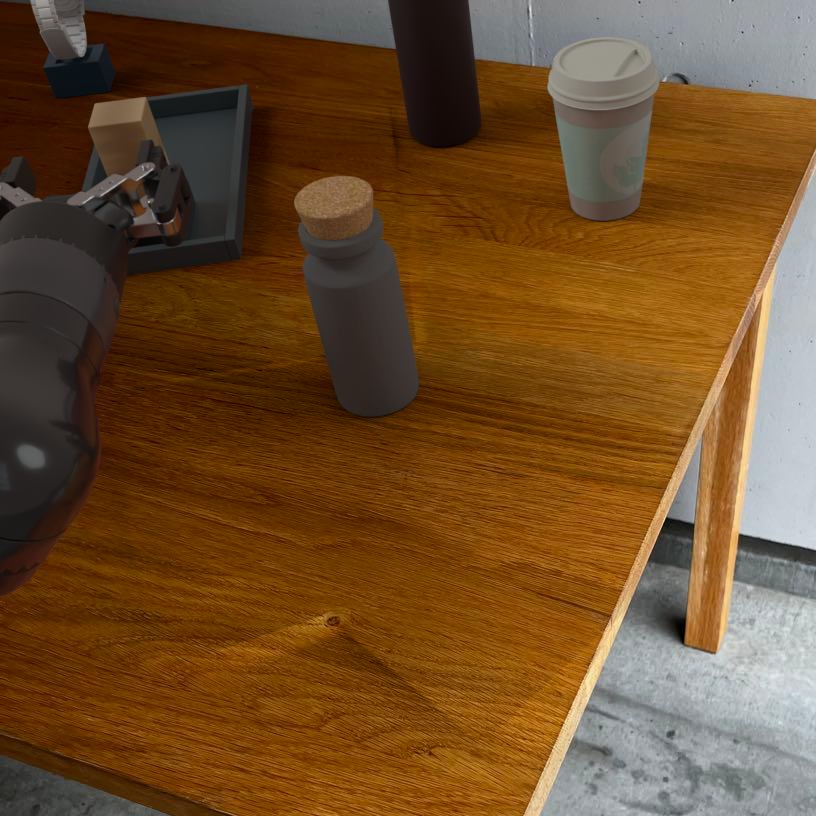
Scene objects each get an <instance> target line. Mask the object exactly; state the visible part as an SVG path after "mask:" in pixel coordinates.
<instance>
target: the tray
mask: <svg viewBox="0 0 816 816" xmlns="http://www.w3.org/2000/svg"><path fill="white" fill-rule="evenodd" d="M146 98H147V101H148V103H149V106H150V109H151V112H152V115H153V118H154V121H155V123H156V126H157V129H158V132H159V135H160V138H161V140H162V143H163V146H164V149H165V152H166V155H167V158H168V160H169V163H170V164H180V165H181V166H182V168H183V171H184V174H185V177H187V179H188V182H189V185H190V188H191V191H192V194H193V197H194V200H195V209H194V217H193V224H192V232H191V239H190V240H187V241H183V242H182V243H181V244H179V245H177V246H174V247H168V246H166V245H165V244H158V245H150V246H143V247H136V248H131V250H130V251H129V252H128V266H127V275H136V274H144V273H149V272H151V273H152V272H158V271H165V270H172V269H178V268H186V267H187V268H188V267H193V266H201V265H206V264H215V263H222V262H229V261H236V260H241V259H242V250H243V238H244V237H243V235H244V222H245V209H246V208H245V207H246V195H247V183H248V170H249V169H248V166H249V153H250V142H251V141H250V139H251V129H252V128H251V126H252V112H254V111H255V108H254V104H253V99H252V96H251V92H250V89H249V85H248V84H239V85H231V86H225V87H223V86H222V87H217V88H209V89H208V88H207V89H201V90H193V91H187V92H179V93H170V94H164V95H162V94H161V95H154V96H148V97H147V96H146ZM93 144H94V143H93ZM106 178H108V176H107V174H106V171H105V169H104V166H103V164H102V161H101V159H100V156H99V154H98V151H97V149H96V146H95V144H94V145H93V148H92V153H91V155H90V160H89V163H88V166H87V169H86V174H85V177H84V181H83V184H82V187H81V191H80V192H83V191H89V190H90V189H91V188H93V187H94V186H96V185H97V184H99V183H100V182H102V181H103V180H105V179H106ZM110 199H111V200H112V201H114V202H115V203H117V204H118V201H117V199H116V196H115V195H114V196H113V197H111V198H110ZM118 205H119V204H118ZM127 275H126V276H127Z"/></svg>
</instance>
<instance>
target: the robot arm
mask: <svg viewBox="0 0 816 816" xmlns="http://www.w3.org/2000/svg"><path fill="white" fill-rule="evenodd" d="M135 165H136V168H134V169H133V170H131V171H130V172H129V173H127V174H126V175H124V176H121V175H117V174H112V175H111V176H109V177H108V178H106V179H105V180H103V181H102V182H100V183H99V184H97V185H96V186H94V187H93V188H91V189H90V190H89V191H83V192H81V191H79V192H75V193H71V194H55V195H47V196H44V198H43V199H41V198H39V197H35V194H36V191H37V187H38V183H37V182H38V181H37V179H36V176H35V174H34V172H33V170H32V168H31V165H30V164H29V162H28V159H27V158H26V156H24V155H22V156H17V157H16V156H15V157H12V159H11V161H10V164H9V165H6V166H5V167H4V168H3V169H2V170H1V174H0V598H3V597H5V596H8V595H9V594H12V593H14V592H15V591H17V590H19V589H20V588H22V586H24V585H25V584H27V583H28V581H30V580H31V579H32V578H33V576H34V575H35V574H36V573H37V572H38V571H39V569H40V567H41V566H42V565H43V563H44V562H45V560H47V558H48V557H49V555H50V554H51V552H52V551H53V549H54V548H55V547H56V545H57V544H58V542H59V541H60V539H61V538H62V537H63V535H64V534H65V533H66V531H67V530H68V528H69V527H70V526H71V525H72V524H73V522H74V521H75V519H76V518H77V517H78V515H79V514H80V513H81V511H82V510H83V508H84V506H85V505H86V503H87V501H88V499H89V497H90V495H91V493H92V491H93V488H94V486H95V482H96V479H97V476H98V472H99V468H100V463H101V456H102V437H101V431H100V430H101V429H100V423H99V415H98V414H99V413H98V409H97V405H96V399H97V395H98V391H99V386H100V381H101V377H102V372H103V368H104V362H105V360H106V358H107V356H108V355H109V352H110V349H111V347H112V344H113V341H114V337H115V334H116V329H117V323H118V320H119V319H120V316H121V304H122V299H123V295H124V290H125V286H126V285H125V284H126V281H127V266H128V252H129V251H130V250H131V248H133V247H134V246H135V245H136V244H137V242H138V240H139V238H144V237H154V236H162V239H163V242H164V244H165V245H166V246H168V247H174V246H177V245H179V244H181V243H182V242H183V240H184V236H185V232H186V228H187V224H188V220H189V217H190V213H191V209H192V205H193V201H194V200H193V197H192V194H191V191H190V188H189V185H188V183H187V180H186V177H185V174H184V171H183V168H182V166H181V165H180V164H170V165H168V163H167V160H166V158H165V155H164V152H163V149H162V148H161V146H155V145H154V142H153V140H152V139H150V140H143V141H141V142H140V146H139V151H138V155H137V160H136V164H135ZM140 185H143V188H144V191H145V193H146V195H145V196H144V197H143V198H141V199H139V196H138V194H137V188H138V187H139V186H140ZM114 195H116V197H117V199H118V202H119V204H120V205H118V204H117V203H115V202H114V201H112V200H111V199H110V198H111V197H113V196H114Z"/></svg>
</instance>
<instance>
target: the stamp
mask: <svg viewBox="0 0 816 816" xmlns="http://www.w3.org/2000/svg"><path fill="white" fill-rule="evenodd" d="M88 122H89V123H88V126H87V129H88V131H89V135H90V137H91V139H92V141H93V144H95V146H96V149H97V151H98V154H99V156H100V159H101V161H102V164H103V166H104V169H105V171H106V174H107V176H108V177H109V176H111V175H112V174H117V175H121V176H124V175H126V174H127V173H129V172H130V171H131V170H133V169H134V168H136V165H135V164H136V160H137V155H138V151H139V146H140V142H141V141H143V140H150V139H152V140H153V142H154V145H155V146H161V148H162V149H163V152H164V155H165V158H166V160H167V163H168V165H170V163H169V160H168V158H167V155H166V152H165V149H164V146H163V143H162V140H161V138H160V135H159V132H158V129H157V126H156V123H155V121H154V118H153V115H152V112H151V109H150V106H149V103H148V101H147V96H142V97H141V96H140V97H135V98H127V99H126V98H125V99H118V100H111V101H103V102H96V103H94V105H93V109H92V112H91V116H90V119H89V121H88ZM186 180H187V183H188V185H189V182H188V179H187V177H186ZM189 188H190V185H189ZM190 191H191V188H190ZM137 194H138V196H139V199H141V198H143V197H144V196H145V195H146V193H145V191H144V188H143V185H140V186H139V187H138V188H137ZM191 194H192V191H191ZM115 196H116V195H115ZM192 197H193V194H192ZM116 199H117V197H116ZM193 200H194V197H193ZM117 201H118V199H117ZM118 204H119V202H118ZM119 205H120V204H119ZM194 209H195V200H194V201H193V205H192V209H191V213H190V217H189V220H188V224H187V228H186V232H185V236H184V240H183V241H187V240H190V239H191V232H192V224H193V217H194ZM158 244H164V242H163V239H162V236H154V237H144V238H139V240H138V242H137V244H136V245H135V246H134V247H133V248H136V247H143V246H150V245H158Z"/></svg>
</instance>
